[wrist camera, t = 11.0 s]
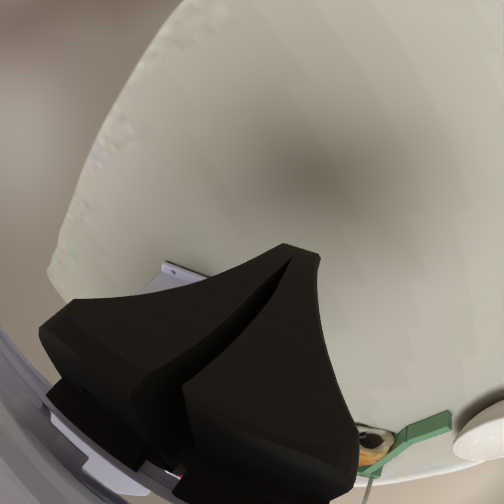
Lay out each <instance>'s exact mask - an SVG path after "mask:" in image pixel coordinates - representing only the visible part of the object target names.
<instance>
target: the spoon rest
mask: <svg viewBox="0 0 504 504" xmlns="http://www.w3.org/2000/svg"><path fill="white" fill-rule="evenodd" d="M452 450H453V452H454V454H455V455H456V456H458V457H460V458H462V459H465V460H471V461H484V460H493V459H498V458H503V457H504V399H503V400H501V401H499V402H497V403H495V404H493V405H491V406H490V407H488V408H486V409H485V410H483V411H482V412H480V413H479V414H477V415H476V416H475V417H474V418H472V419H471V420H470V421H469V422H468V423H467V424H466V425H465V427H464V428H463V429H462V430H461V431H460V432H459V434H458V435H457V437H456V438H455V440H454V442H453V445H452Z"/></svg>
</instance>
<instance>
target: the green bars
mask: <svg viewBox="0 0 504 504" xmlns="http://www.w3.org/2000/svg"><path fill="white" fill-rule="evenodd" d="M451 428H452V414H451V413H450V412H449V411H448V410H447V411H444V412H442V413H440V414H437V415H435V416H432V417H430V418H427V419H425V420H422V421H419V422H417V423H414V424H411V425H408V427H405V428H404V429H403V430H402V431H401V432H400V433H399V434H398V435H396V436H395V437H394V438H395V442H394V443H393V444H392V445H391V446H390V448H389V451H388V453H387V455H386V456H385V457H384V458H383V459H381V460H378V461H377V462H376V463H375V464H372V465H364V466H358V471H357V475H358V476H362V477H367V478H369V482H368V485H367V489H366V492H365V495H364V498H363V502H362V504H366V503H367V499H368V496H369V493H370V489H371V486H372V482H373V479H377V478H379V477H380V476H381V472H382V467H383V465H384V464H386V463H387V462H389V461H390V460H392V459H393V458H394V457H396V456H397V455H398V454H400V453H401V452H403V451H404V450H405V449H407V448H408V447H409V446H411V445H412V444H414V443H417V442H420V441H423V440H426V439H429V438H432V437H435V436H437V435H440V434H443V433H446V432H448V431H451Z"/></svg>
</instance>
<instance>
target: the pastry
mask: <svg viewBox="0 0 504 504" xmlns="http://www.w3.org/2000/svg"><path fill="white" fill-rule="evenodd" d="M356 427H357V429H358V431H359V433H360V454H359V465H358V466H364V465H372V464H375V463H376V462H377V461H378V460H381V459H383V458H384V457H385V456H386V455H387V453H388V451H389V448H390V446H391V445H392V444H393V443H394V442H395V438H394V436H393V435H392V433H391V432H389V431H387V430H383V429H378V428H368V427H365V426H359V425H358V426H357V425H356Z"/></svg>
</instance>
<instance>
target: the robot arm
mask: <svg viewBox="0 0 504 504" xmlns="http://www.w3.org/2000/svg"><path fill="white" fill-rule="evenodd" d="M320 260H321V257H320V256H319V254H317V253H314V252H311V251H307V250H304V249H301V248H298V247H295V246H291V245H288V244H285V243H282V244H280V245H278V246H276V247H274V248H272V249H270V250H269V251H267V252H265V253H263V254H261V255H259V256H257V257H255V258H253V259H251V260H249V261H247V262H245V263H243V264H241V265H239V266H236V267H234V268H232V269H229V270H227V271H225V272H222V273H220V274H218V275H215V276H212V277H210V278H207V277H204V276H201V275H199V274H196V273H193V272H191V271H188V270H186V269H183V268H180V267H178V266H175V265H173V264H170V263H167V262H164V263H163V264H162V265H161V271H162V272H161V273H160V274H159V275H158V276H156V277H155V278H154V279H153V280H152V281H150V282H149V283H148V284H147V285H146V286H145V287H143V288H142V289H141V290H140V291H139V292H137V293H136V294H135V295H133V296H125V297H114V298H94V299H73V300H72V301H71V302H70V303H68V304H67V305H66V306H65V307H63V308H62V309H61V310H60V311H58V312H57V313H56V314H55V315H54V316H52V317H51V318H50V319H49V320H48V321H46V322H45V323H44V324H43V325H42V326H40V327H39V338H40V341H41V343H42V345H43V347H44V349H45V351H46V353H47V354H48V356H49V358H50V359H51V361H52V363H53V364H54V366H55V368H56V369H57V371H58V372H59V374H60V375H61V377H62V378H61V379H60V380H59V381H58V382H57V383H56V384H55V385H54V386H53V385H52V384H51V383H50V382H49V381H48V380H47V379H46V378H45V377H44V376H43V375H42V374H41V373H40V372H39V371H38V370H37V369H36V368H35V367H34V366H33V364H32V363H31V362H30V361H29V360H28V359H27V358H26V357H25V356H24V354H23V353H22V352H21V351H20V350H19V349H18V348H17V346H16V345H15V344H14V343H13V341H12V340H11V339H10V338H9V337H8V335H7V334H6V332H5V331H4V330H3V329H2V327H1V326H0V504H131V503H130V502H128V501H127V500H125V499H123V498H122V497H121V496H119V495H118V494H116V493H120V494H127V495H138V496H146V495H148V494H149V493H150V492H153V493H155V494H156V495H158V496H160V497H161V498H163V499H165V500H167V501H168V502H170V503H172V504H329V503H330V501H331V500H333V499H335V498H337V497H339V496H341V495H343V494H345V493H347V492H349V491H350V490H351V489H352V488H353V486H354V483H355V480H356V476H357V471H358V465H359V454H360V433H359V431H358V429H357V427H356V424H355V422H354V420H353V418H352V416H351V414H350V412H349V409H348V407H347V405H346V403H345V400H344V398H343V395H342V393H341V390H340V388H339V385H338V383H337V380H336V377H335V373H334V370H333V367H332V364H331V361H330V358H329V355H328V351H327V348H326V344H325V340H324V335H323V331H322V326H321V320H320V313H319V305H318V293H317V271H318V267H319V263H320ZM174 270H175V271H174ZM175 476H182V478H181V479H180V480H179V479H178V478H176V477H175Z"/></svg>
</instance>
